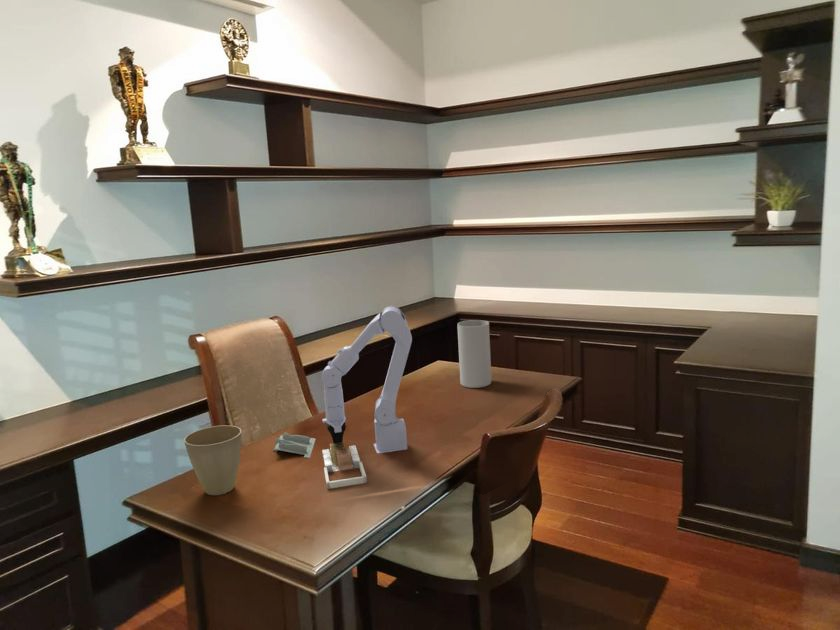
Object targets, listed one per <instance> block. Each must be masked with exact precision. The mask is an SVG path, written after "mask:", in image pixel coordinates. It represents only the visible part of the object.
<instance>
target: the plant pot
mask: <svg viewBox="0 0 840 630" xmlns="http://www.w3.org/2000/svg"><path fill="white" fill-rule="evenodd" d="M183 443H184V445H185V446H184V447H185V449H186V452H187V455H188V458H189V461H190V465H192V466H191V467H192V469H193V471H194V473H195V475H196V478H197V479H198V482H199V483H200V485H201V487H202V488H203V490H204V492H205V493H206V494H207V495H209V496H222V495H225V494H227V492H228V493H229V492H231V491H232V490H233V489H234V487H235V484H236V480H237V478H238V477H237V476H238V471H239V466H240V459H241V451H242V429H241V428H240V427H238V426H235V425H225V424H224V425H223V424H222V425H214V426H209V427H204V428H201V429H198V430H195V431H193V432H191V433H189V434H188V435H186V436H185V437H184V439H183Z"/></svg>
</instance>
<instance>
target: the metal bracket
mask: <svg viewBox="0 0 840 630" xmlns="http://www.w3.org/2000/svg"><path fill="white" fill-rule="evenodd" d="M316 439H317V438H314V437H309V436H307V435H306V436H305V435H301V434H300V435H299V434H293V435H292V434H289V433H288V432H284V433H283V434H282V435H281V434H280V436H279V438H275V446H274V448H273V452H275V453H276V454H277V452H278V451H282V452H288V453H292V454H297V455H302V456H303V455H304V456H303V459H304V458H305V459H309V458H311V455H312V452H313V449H314V445H315V442H316Z"/></svg>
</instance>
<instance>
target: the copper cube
mask: <svg viewBox="0 0 840 630" xmlns="http://www.w3.org/2000/svg"><path fill="white" fill-rule="evenodd" d="M336 457H337V465H338V469H339V468H346V467H352V458H351V451H350V448H349V447H348V448H344V449H341V450H336Z"/></svg>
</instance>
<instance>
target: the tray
mask: <svg viewBox="0 0 840 630" xmlns="http://www.w3.org/2000/svg"><path fill="white" fill-rule="evenodd" d="M358 469H359V471H360V474H361V476H356V477H350V478H344V479H343V478H342V479H337V480H336V479H335V480H331V481H330V478H329V472H327V467H325V466H324V467H323V473H324V478H325V484H326V489H327V490H329V489H335V488H336V489H337V488H342V487H348V486H349V487H350V486H354V485H362V484H367V483H368V480H367V479H368V478H367V477H368V476H367V474H366V471H365V468H364V465H363V462H362V461H360V462H359V468H358Z"/></svg>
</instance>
